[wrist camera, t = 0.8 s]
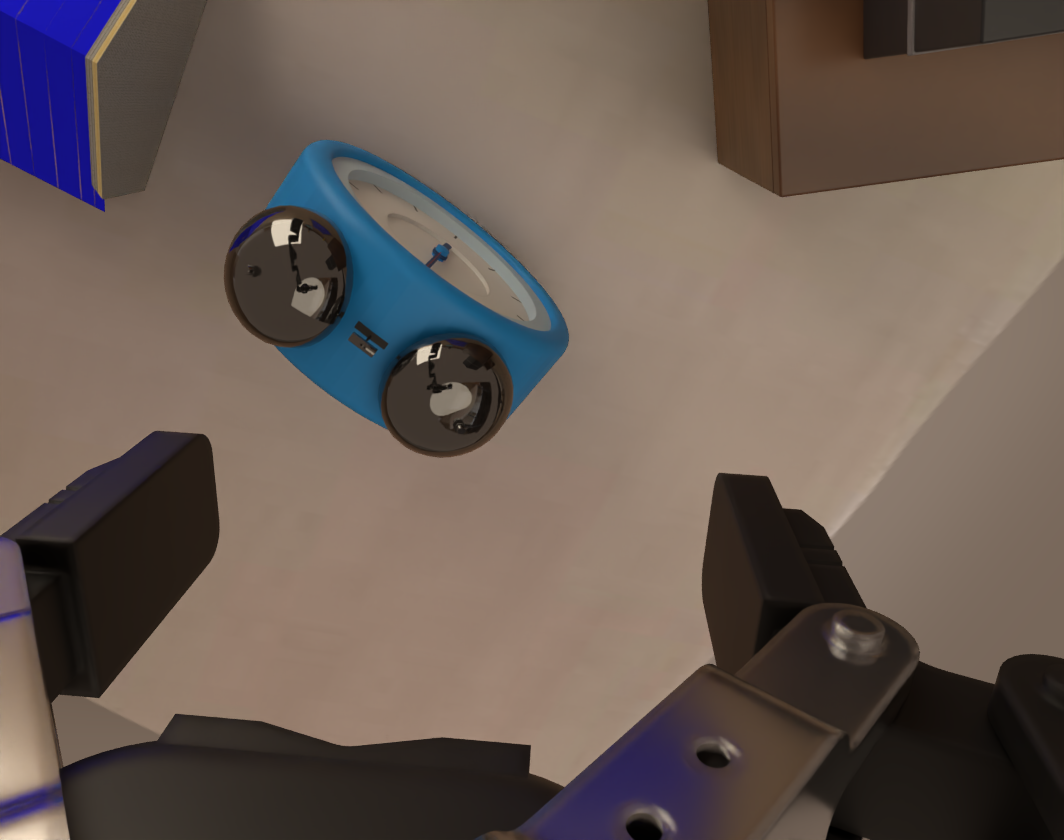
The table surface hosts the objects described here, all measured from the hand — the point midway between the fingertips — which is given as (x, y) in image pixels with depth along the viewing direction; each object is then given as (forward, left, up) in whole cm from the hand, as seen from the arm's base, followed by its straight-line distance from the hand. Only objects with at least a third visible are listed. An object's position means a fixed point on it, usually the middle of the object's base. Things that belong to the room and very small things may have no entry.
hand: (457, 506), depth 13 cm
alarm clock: (+1, -6, -30) cm, 30 cm away
